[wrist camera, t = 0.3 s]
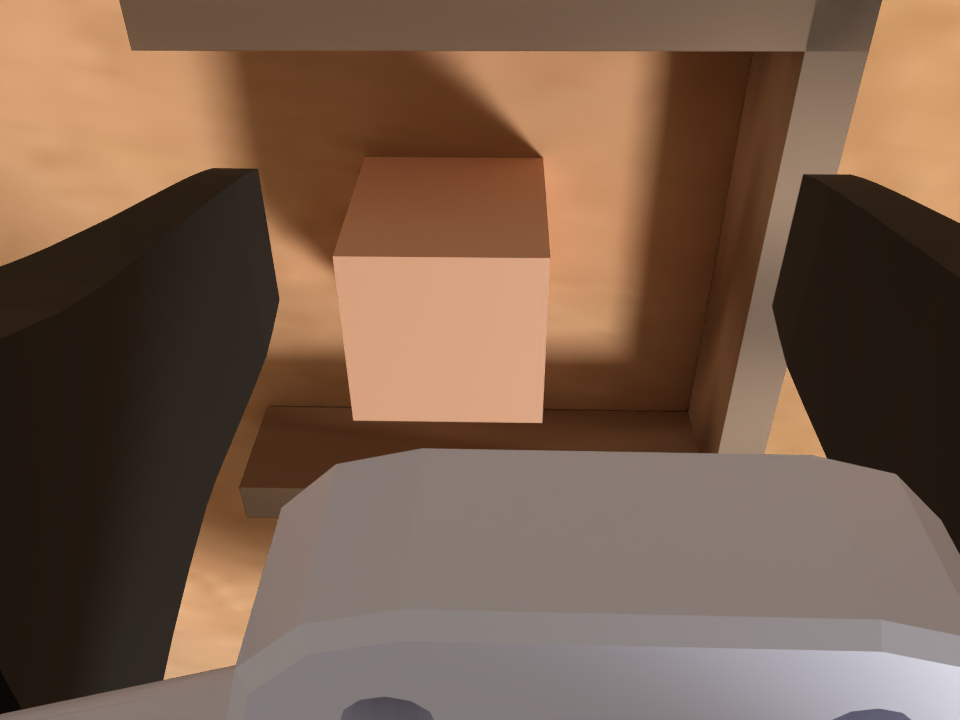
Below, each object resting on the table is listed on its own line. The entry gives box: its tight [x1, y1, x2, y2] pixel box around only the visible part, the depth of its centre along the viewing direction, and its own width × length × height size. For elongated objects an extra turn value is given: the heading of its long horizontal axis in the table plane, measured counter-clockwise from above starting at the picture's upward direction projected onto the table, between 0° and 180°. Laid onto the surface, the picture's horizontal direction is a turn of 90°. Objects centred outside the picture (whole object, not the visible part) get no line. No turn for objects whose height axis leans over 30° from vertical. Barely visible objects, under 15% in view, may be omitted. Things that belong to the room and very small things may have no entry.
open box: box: [119, 0, 882, 518], centre depth 22 cm, size 14×14×4 cm
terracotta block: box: [333, 157, 550, 423], centre depth 21 cm, size 4×4×5 cm
